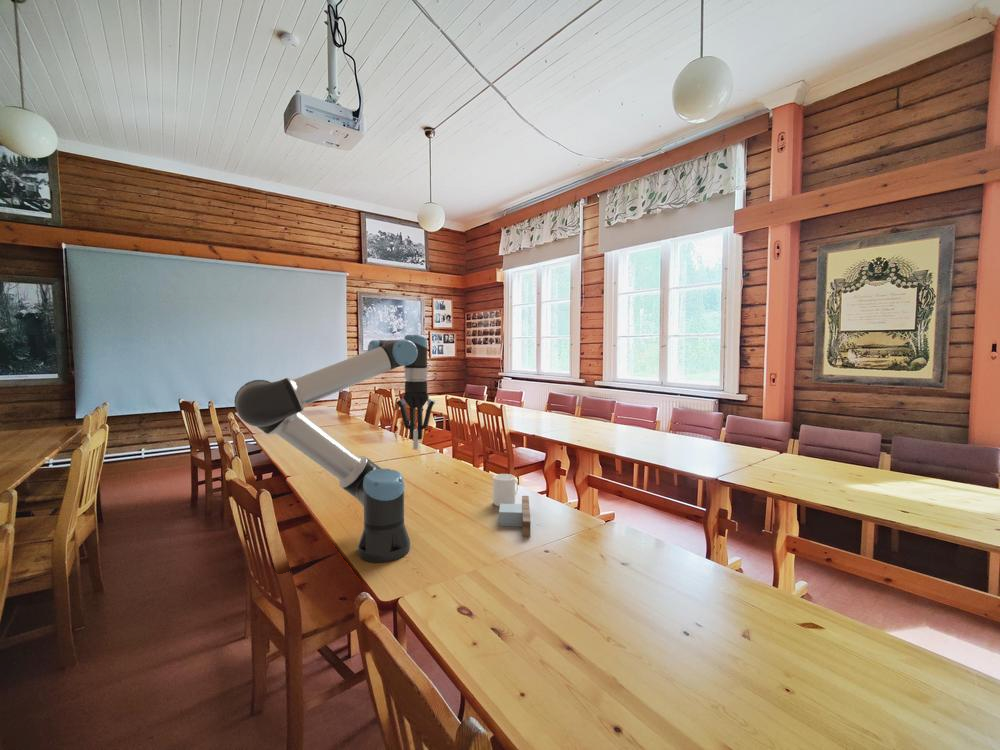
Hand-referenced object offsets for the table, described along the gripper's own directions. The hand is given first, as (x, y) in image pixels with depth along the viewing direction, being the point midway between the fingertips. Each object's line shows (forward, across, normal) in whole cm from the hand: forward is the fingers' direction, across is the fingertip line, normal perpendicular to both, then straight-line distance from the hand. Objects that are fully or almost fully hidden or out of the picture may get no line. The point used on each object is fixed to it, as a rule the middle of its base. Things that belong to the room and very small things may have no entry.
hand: (416, 448), depth 146 cm
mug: (+27, -31, -22) cm, 46 cm away
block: (+27, -33, -4) cm, 42 cm away
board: (+26, -38, -4) cm, 46 cm away
